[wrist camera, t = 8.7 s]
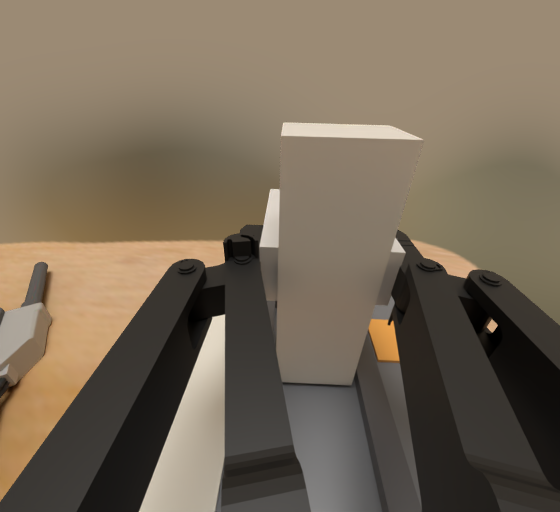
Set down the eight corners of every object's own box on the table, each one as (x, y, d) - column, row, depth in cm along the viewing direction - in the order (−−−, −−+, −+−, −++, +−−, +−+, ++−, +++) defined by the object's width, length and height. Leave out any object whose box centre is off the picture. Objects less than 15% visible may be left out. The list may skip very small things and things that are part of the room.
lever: (275, 381, 14) (281, 135, 7) (277, 336, 17) (283, 122, 10) (351, 385, 14) (424, 139, 7) (342, 339, 16) (390, 125, 10)
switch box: (-58, 1061, 5) (-268, 1320, 3) (213, 302, 24) (207, 267, 22) (768, 1139, 5) (1119, 1475, 3) (393, 309, 23) (405, 275, 21)
